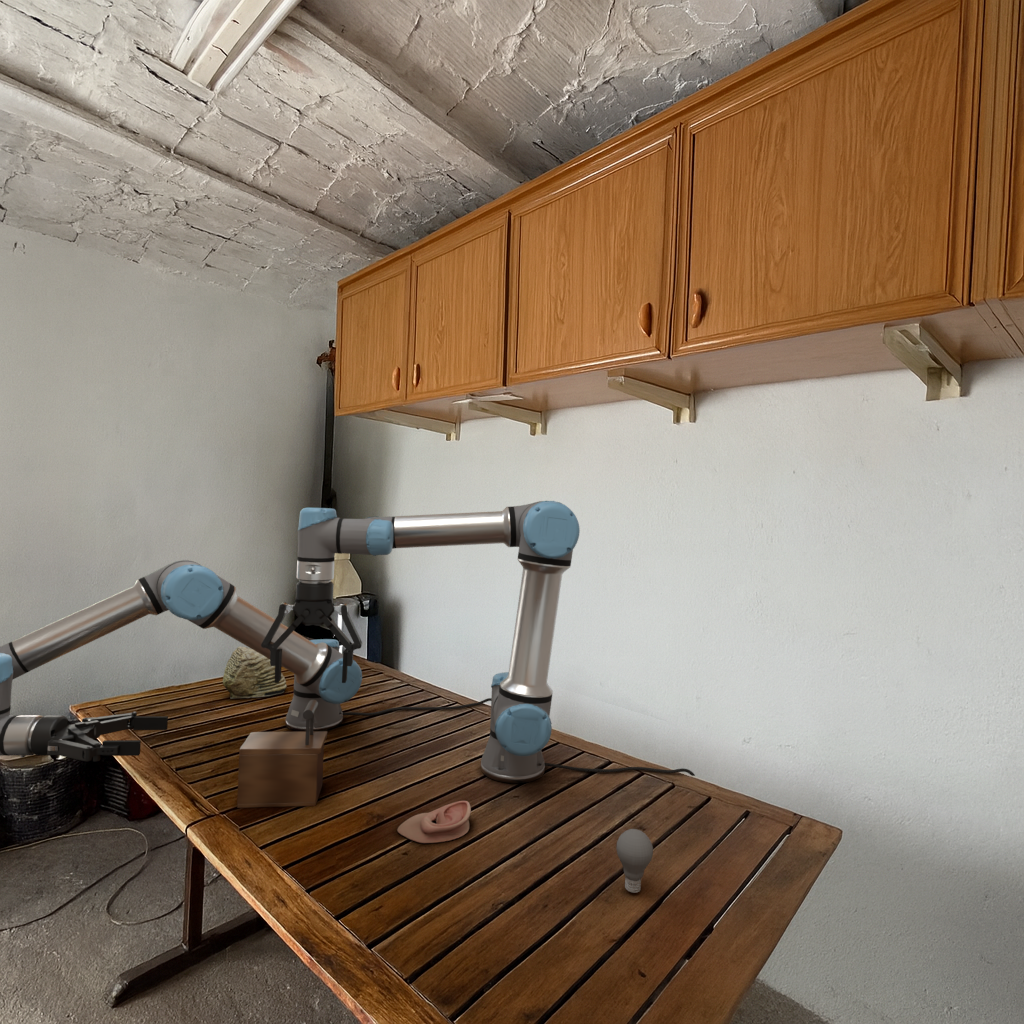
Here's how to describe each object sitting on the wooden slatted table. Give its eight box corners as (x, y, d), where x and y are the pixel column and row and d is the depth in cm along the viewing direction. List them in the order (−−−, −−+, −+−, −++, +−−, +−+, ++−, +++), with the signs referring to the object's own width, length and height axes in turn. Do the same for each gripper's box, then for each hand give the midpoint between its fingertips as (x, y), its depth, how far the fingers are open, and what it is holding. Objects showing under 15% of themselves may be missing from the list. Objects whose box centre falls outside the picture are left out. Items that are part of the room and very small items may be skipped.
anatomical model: (391, 817, 118) (413, 790, 130) (390, 838, 118) (412, 809, 130) (459, 827, 116) (476, 799, 127) (459, 849, 116) (475, 819, 127)
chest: (322, 785, 139) (324, 736, 139) (315, 805, 130) (317, 754, 130) (249, 786, 137) (251, 737, 137) (237, 807, 128) (239, 755, 127)
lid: (327, 736, 139) (328, 697, 139) (320, 753, 130) (322, 712, 130) (251, 737, 137) (252, 697, 136) (239, 755, 127) (240, 712, 127)
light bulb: (610, 879, 108) (613, 822, 108) (644, 879, 109) (647, 822, 109) (619, 902, 102) (622, 840, 102) (655, 901, 103) (658, 840, 103)
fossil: (218, 695, 195) (220, 647, 195) (278, 685, 208) (279, 640, 207) (228, 703, 189) (230, 653, 188) (289, 692, 201) (290, 645, 201)
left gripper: (72, 731, 138) (176, 731, 141) (-3, 781, 114) (125, 780, 117) (73, 697, 138) (177, 697, 141) (-1, 740, 113) (127, 739, 117)
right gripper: (248, 581, 128) (244, 686, 128) (374, 584, 131) (370, 686, 132) (257, 577, 135) (253, 676, 136) (376, 580, 139) (372, 676, 139)
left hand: (154, 734), depth 129 cm, fingers open, 13 cm apart
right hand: (311, 681), depth 134 cm, fingers open, 13 cm apart
